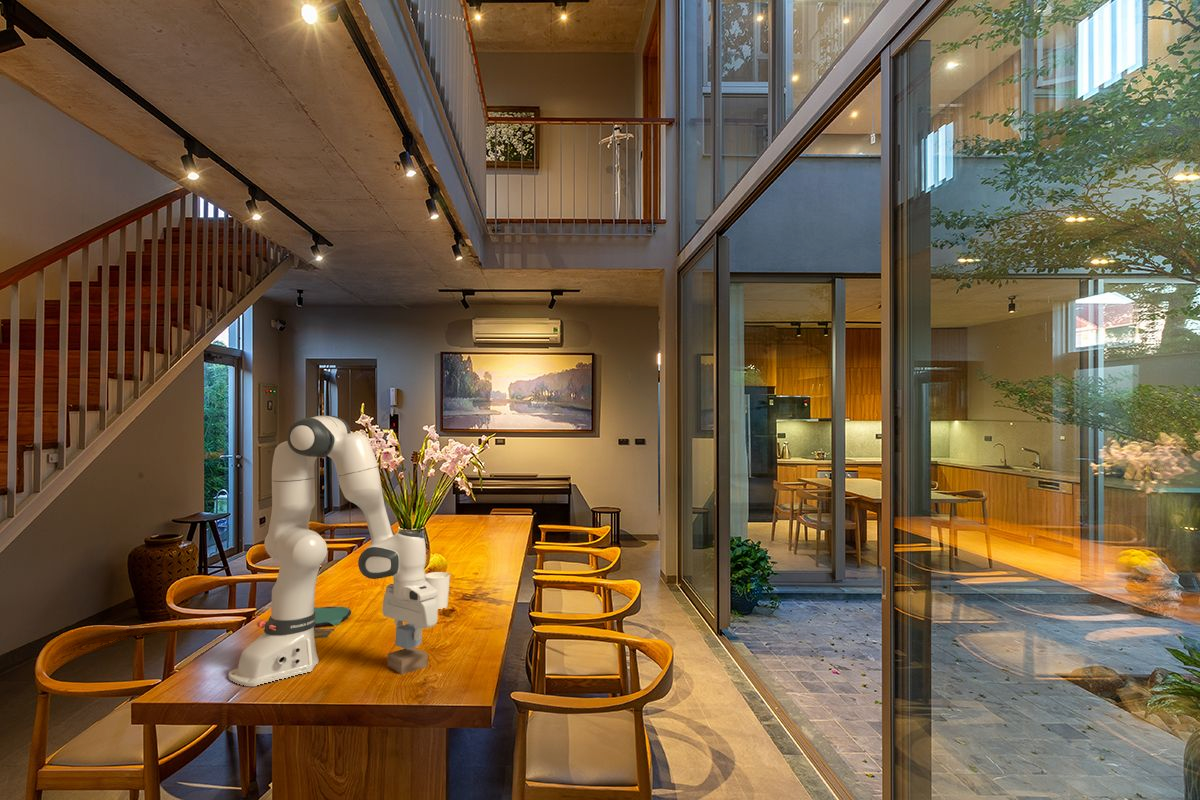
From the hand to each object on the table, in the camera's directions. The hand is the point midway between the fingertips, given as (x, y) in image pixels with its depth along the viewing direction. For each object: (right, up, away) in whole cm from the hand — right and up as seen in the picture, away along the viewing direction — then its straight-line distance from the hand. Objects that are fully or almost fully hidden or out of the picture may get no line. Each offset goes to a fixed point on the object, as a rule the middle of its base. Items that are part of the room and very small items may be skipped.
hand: (408, 637), depth 178 cm
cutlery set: (-43, -10, +36) cm, 57 cm away
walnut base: (0, -9, 0) cm, 9 cm away
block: (0, -2, 0) cm, 2 cm away
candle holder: (-7, -11, +58) cm, 60 cm away
